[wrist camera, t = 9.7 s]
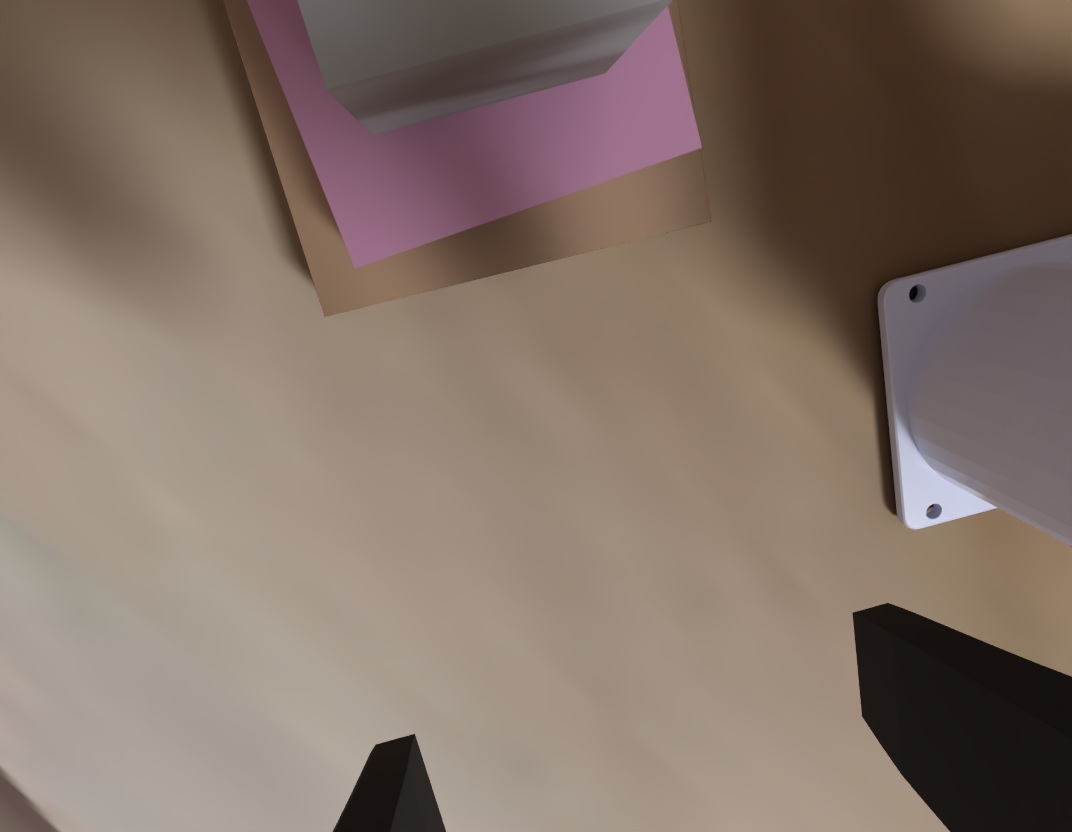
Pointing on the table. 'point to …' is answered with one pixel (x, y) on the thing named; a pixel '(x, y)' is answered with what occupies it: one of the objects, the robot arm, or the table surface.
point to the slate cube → (462, 51)
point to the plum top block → (479, 141)
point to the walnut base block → (485, 250)
